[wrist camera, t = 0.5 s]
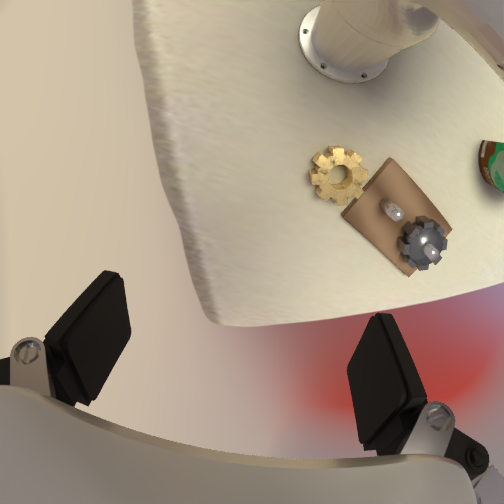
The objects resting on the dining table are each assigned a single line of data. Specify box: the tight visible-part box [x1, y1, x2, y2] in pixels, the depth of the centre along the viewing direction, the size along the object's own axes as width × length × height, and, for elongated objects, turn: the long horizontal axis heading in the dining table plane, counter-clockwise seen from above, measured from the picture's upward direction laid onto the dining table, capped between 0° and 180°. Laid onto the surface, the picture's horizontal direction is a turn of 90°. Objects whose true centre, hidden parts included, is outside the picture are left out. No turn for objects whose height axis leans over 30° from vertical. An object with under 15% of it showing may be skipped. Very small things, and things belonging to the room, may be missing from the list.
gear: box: [397, 215, 447, 271], centre depth 35 cm, size 8×8×6 cm
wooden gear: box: [309, 146, 368, 205], centre depth 35 cm, size 7×7×3 cm
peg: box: [379, 198, 404, 221], centre depth 34 cm, size 2×2×5 cm
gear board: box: [341, 158, 452, 277], centre depth 38 cm, size 11×16×2 cm
